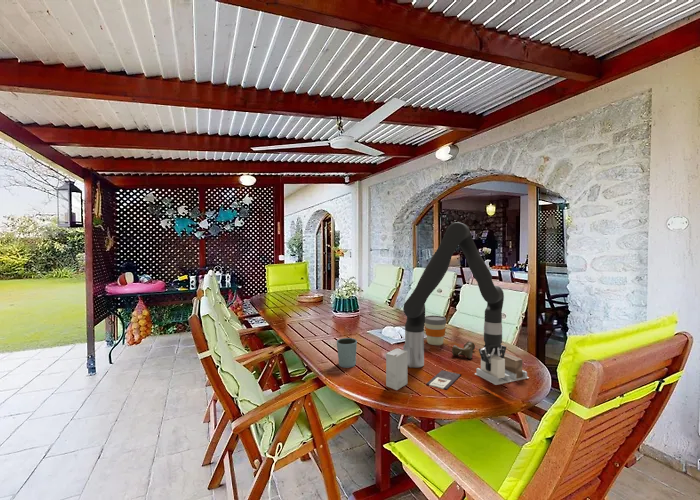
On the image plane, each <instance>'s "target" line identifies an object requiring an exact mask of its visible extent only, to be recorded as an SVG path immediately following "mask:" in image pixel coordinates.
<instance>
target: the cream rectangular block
mask: <svg viewBox="0 0 700 500" xmlns="http://www.w3.org/2000/svg"><path fill="white" fill-rule="evenodd" d="M488 355H489V354H488ZM488 359H489V357H488ZM485 367H486V362H484V361H482V359H481V358H480V369H482V370H484V371H486V372H488V373H490V374H492V375H494V376H496V377H498V378H499V379H500V378H504V377H505V359H503V358H501V357H498V356H495V355H493V358H491V371H487V370H486V368H485Z"/></svg>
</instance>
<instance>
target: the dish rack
mask: <svg viewBox="0 0 700 500" xmlns="http://www.w3.org/2000/svg"><path fill="white" fill-rule="evenodd" d="M475 370H476V372H475V373H474V375H476V376H477V377H479V378H482V379H484V380H485V381H487V382H489V383H492V384H493V385H495V386H497V385H502V384H507V383H511V382H516V381H522V380H526V379H529V378H530V377H529V376H528V372H527V371H526V370H523V369H522V378H517V379H516V375H517V374H515V373H513V372H511V371H508V370H506V369H505V377H504V378H500V379H499V378H498V377H496V376H494V375H492V374H490V373H488V372H486V371H484V370H482V369H481V367H480V368H479V367H477V368H476V369H475Z"/></svg>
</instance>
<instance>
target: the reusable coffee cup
mask: <svg viewBox="0 0 700 500" xmlns="http://www.w3.org/2000/svg"><path fill="white" fill-rule="evenodd" d="M446 324H447V318H446V317H445V316H443V315H425V325H424V333H425V335H426V341H427V344H428V345H431V346H441V345H443V344H444V339H445V336H446Z"/></svg>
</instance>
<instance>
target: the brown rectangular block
mask: <svg viewBox="0 0 700 500" xmlns="http://www.w3.org/2000/svg"><path fill="white" fill-rule="evenodd" d="M501 355H502V353H501ZM504 359H505V369H506V370H508V371H511V372H513V373H515V374H517V375H516V379H517V378H522V370H523V359H522V358H520V357H517V356H515V355H512V354H510V353H507V352H505V355H504Z"/></svg>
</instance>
